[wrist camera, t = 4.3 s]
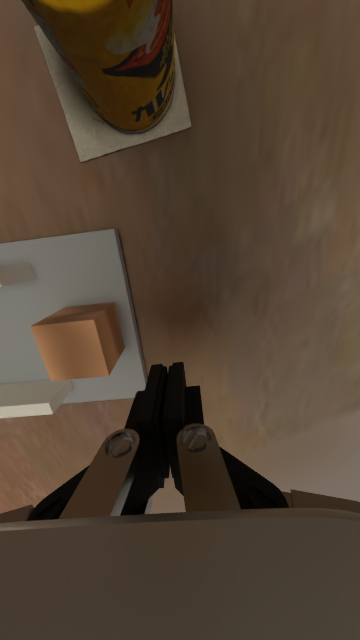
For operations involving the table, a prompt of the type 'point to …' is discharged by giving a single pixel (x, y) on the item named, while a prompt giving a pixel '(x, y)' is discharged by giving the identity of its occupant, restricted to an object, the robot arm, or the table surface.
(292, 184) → the table surface
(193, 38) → the table surface
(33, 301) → the channel board
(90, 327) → the block
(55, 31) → the condiment
